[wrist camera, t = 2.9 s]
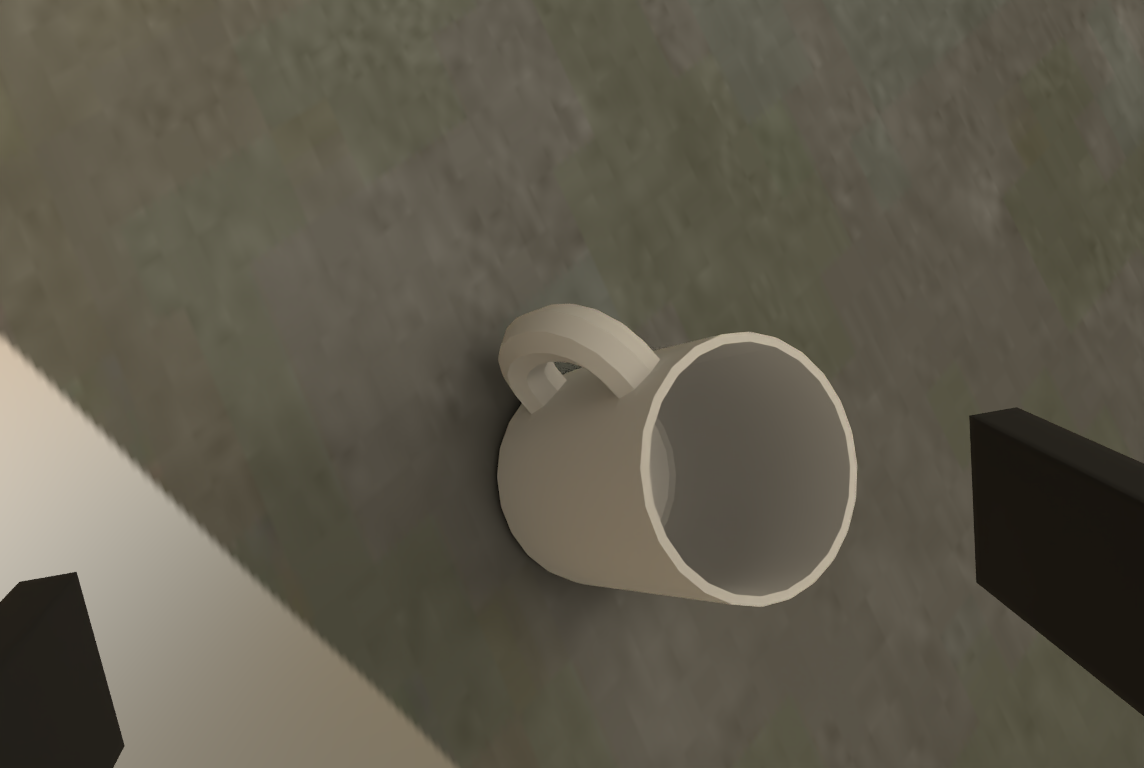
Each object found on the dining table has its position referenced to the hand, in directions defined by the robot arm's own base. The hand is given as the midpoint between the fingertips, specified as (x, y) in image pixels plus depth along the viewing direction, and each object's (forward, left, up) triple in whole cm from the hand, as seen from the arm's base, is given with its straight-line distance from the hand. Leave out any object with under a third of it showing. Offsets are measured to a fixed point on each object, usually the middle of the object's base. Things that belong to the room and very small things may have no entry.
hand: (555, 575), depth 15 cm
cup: (+10, -1, -17) cm, 20 cm away
